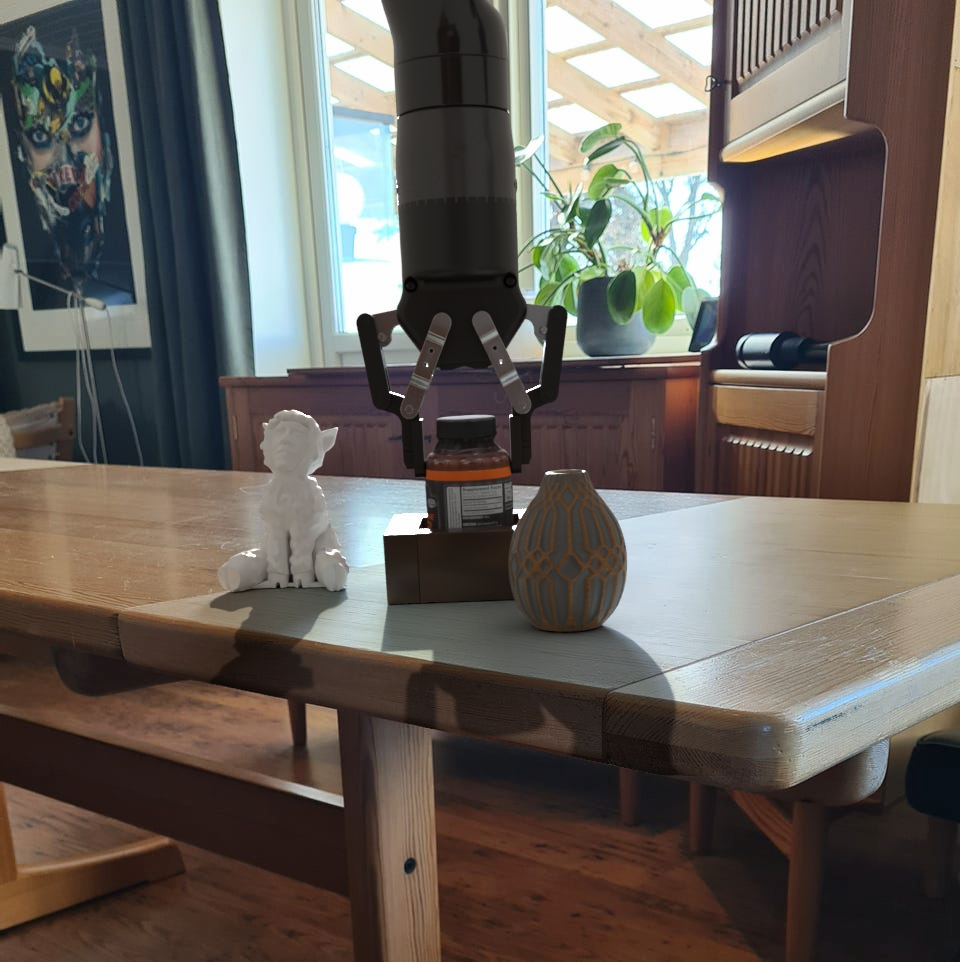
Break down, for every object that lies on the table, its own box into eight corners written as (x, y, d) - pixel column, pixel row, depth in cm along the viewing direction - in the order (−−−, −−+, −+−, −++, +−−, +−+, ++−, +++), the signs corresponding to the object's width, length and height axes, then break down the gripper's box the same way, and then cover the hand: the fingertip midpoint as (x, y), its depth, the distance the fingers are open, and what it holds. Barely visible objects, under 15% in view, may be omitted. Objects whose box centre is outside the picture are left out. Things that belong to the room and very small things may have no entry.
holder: (548, 570, 95) (547, 508, 93) (556, 597, 84) (555, 528, 83) (397, 576, 95) (393, 514, 93) (387, 604, 85) (382, 535, 83)
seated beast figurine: (215, 593, 91) (195, 415, 87) (254, 573, 99) (237, 409, 95) (344, 591, 90) (330, 411, 85) (373, 571, 98) (361, 405, 93)
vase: (550, 610, 80) (547, 465, 77) (648, 619, 77) (649, 466, 73) (487, 631, 75) (481, 476, 72) (588, 641, 71) (586, 478, 68)
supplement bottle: (428, 582, 92) (418, 416, 88) (510, 577, 93) (504, 412, 88) (434, 596, 87) (424, 420, 82) (521, 591, 87) (516, 416, 83)
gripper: (336, 197, 77) (358, 485, 84) (575, 186, 77) (578, 475, 83) (348, 210, 84) (367, 474, 91) (567, 199, 84) (571, 466, 90)
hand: (468, 474), depth 87 cm, fingers closed on supplement bottle, 6 cm apart
